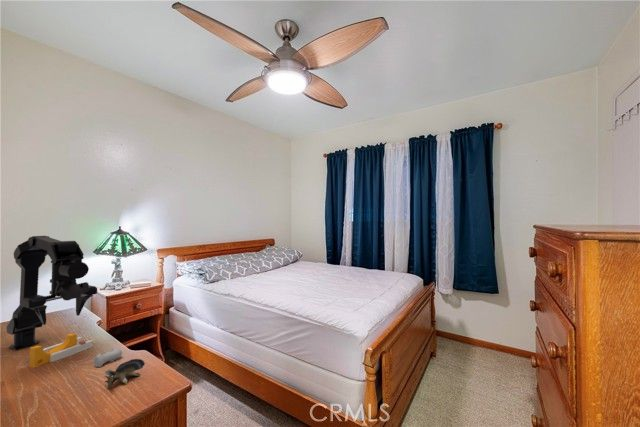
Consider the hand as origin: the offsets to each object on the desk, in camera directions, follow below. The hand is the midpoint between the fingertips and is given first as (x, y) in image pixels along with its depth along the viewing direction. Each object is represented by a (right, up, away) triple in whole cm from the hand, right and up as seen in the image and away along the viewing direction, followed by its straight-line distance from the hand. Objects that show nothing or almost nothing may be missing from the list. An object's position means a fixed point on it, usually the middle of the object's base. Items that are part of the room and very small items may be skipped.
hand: (61, 319), depth 93 cm
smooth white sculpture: (+17, -15, -1) cm, 23 cm away
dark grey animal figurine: (+32, -15, -12) cm, 37 cm away
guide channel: (-4, -15, +6) cm, 16 cm away
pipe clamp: (-5, -15, +2) cm, 16 cm away
